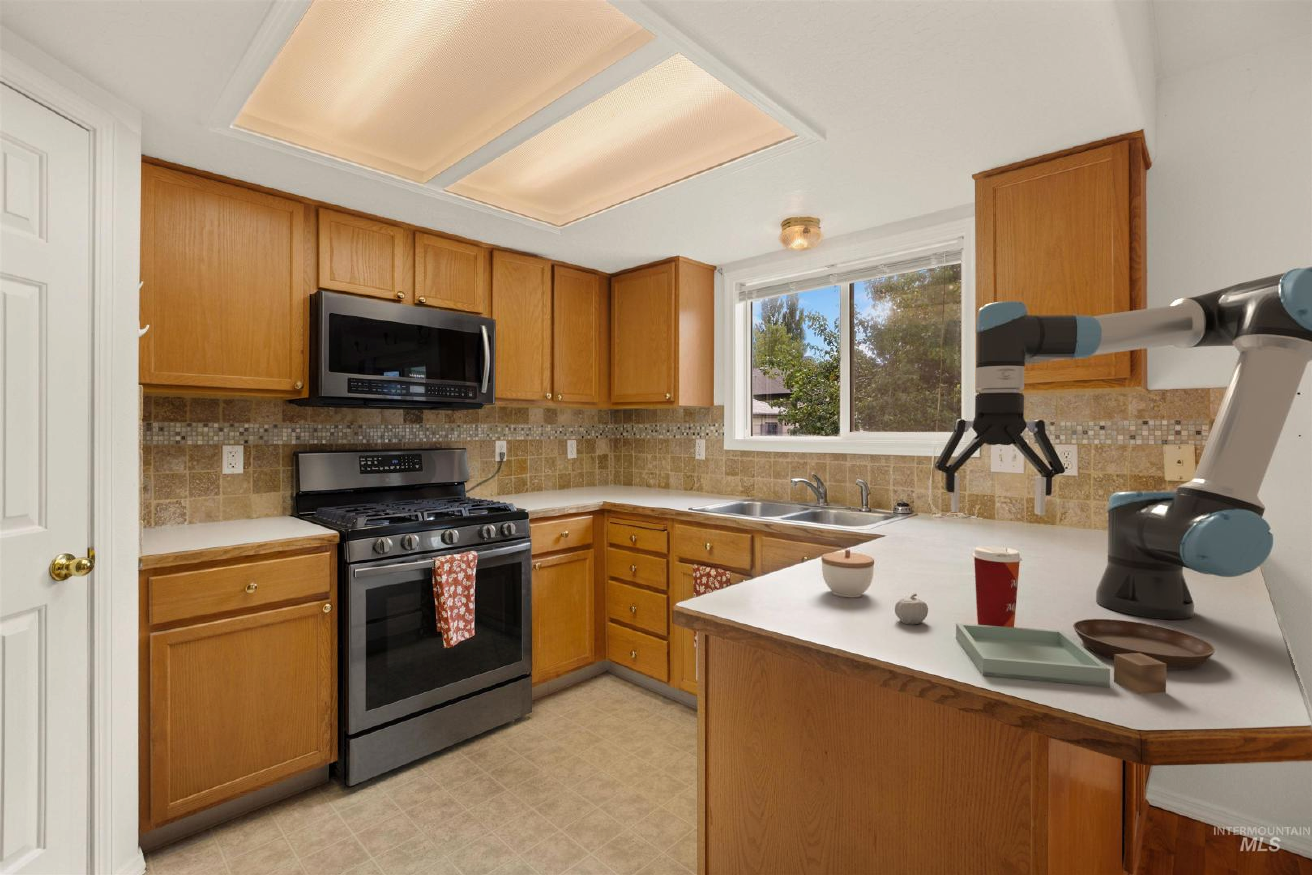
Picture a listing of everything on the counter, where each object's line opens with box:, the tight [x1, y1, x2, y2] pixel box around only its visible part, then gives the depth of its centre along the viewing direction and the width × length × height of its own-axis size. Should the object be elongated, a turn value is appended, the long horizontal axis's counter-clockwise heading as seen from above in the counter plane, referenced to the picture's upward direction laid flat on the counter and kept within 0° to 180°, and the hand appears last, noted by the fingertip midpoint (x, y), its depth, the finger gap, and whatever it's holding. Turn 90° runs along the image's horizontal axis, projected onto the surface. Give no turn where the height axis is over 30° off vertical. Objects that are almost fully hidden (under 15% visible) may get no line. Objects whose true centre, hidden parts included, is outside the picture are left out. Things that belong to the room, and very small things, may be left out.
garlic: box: [894, 593, 929, 625], centre depth 113 cm, size 6×5×5 cm
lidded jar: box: [820, 548, 875, 598], centre depth 131 cm, size 11×11×9 cm
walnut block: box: [1113, 653, 1167, 695], centre depth 85 cm, size 4×4×4 cm
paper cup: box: [971, 545, 1023, 627], centre depth 109 cm, size 8×8×14 cm
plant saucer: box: [1072, 618, 1216, 670], centre depth 98 cm, size 18×18×3 cm
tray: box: [955, 622, 1111, 688], centre depth 95 cm, size 16×16×2 cm
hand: (996, 512), depth 109 cm, fingers open, 13 cm apart
